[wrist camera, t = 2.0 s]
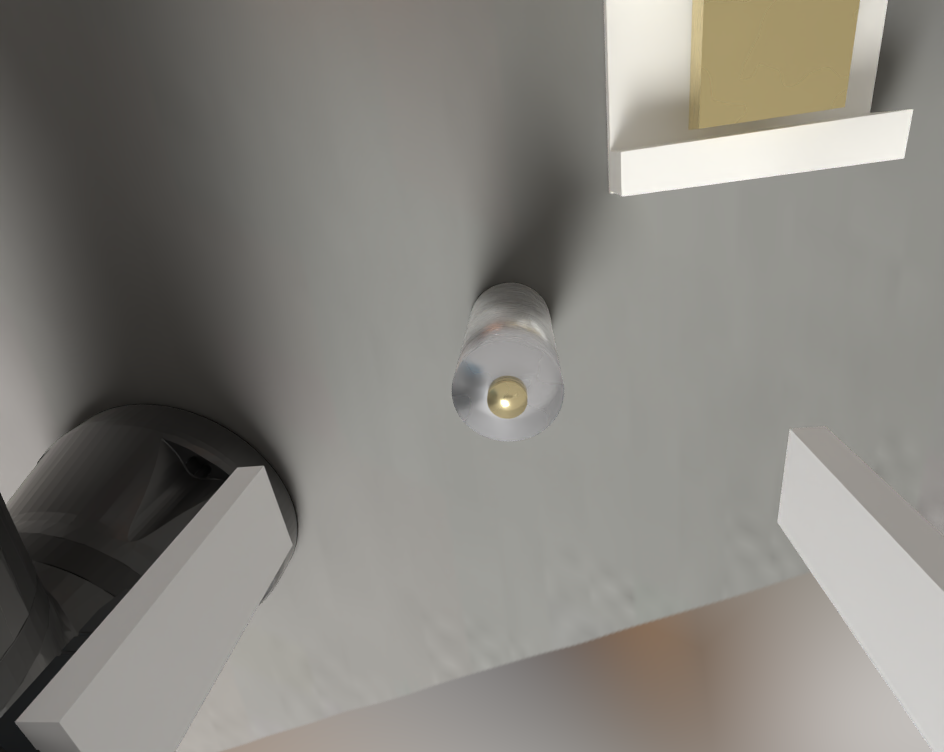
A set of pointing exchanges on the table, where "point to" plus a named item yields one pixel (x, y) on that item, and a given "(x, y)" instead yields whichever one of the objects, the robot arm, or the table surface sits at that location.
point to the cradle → (735, 145)
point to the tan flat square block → (768, 58)
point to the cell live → (508, 366)
